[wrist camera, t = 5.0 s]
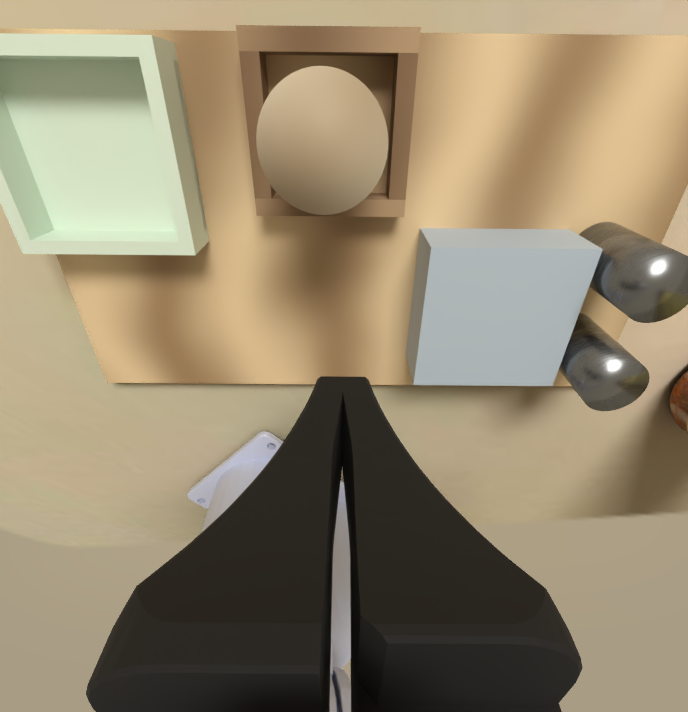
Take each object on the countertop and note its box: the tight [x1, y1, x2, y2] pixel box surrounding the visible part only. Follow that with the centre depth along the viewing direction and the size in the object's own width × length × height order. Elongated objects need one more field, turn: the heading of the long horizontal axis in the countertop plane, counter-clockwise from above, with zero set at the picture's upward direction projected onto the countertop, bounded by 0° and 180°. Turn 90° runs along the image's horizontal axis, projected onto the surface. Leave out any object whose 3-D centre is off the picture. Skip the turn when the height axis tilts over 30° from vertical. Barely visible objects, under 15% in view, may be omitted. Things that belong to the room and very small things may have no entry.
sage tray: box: [0, 33, 209, 255], centre depth 14 cm, size 6×6×2 cm
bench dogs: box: [559, 222, 688, 411], centre depth 16 cm, size 2×6×4 cm, turn 0°
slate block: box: [406, 228, 603, 386], centre depth 17 cm, size 6×6×2 cm
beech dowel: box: [256, 66, 388, 215], centre depth 12 cm, size 3×3×6 cm
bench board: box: [0, 25, 688, 386], centre depth 16 cm, size 25×14×2 cm, turn 90°
